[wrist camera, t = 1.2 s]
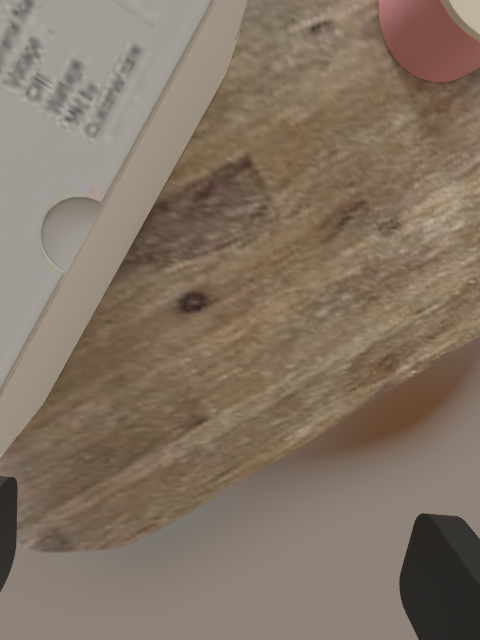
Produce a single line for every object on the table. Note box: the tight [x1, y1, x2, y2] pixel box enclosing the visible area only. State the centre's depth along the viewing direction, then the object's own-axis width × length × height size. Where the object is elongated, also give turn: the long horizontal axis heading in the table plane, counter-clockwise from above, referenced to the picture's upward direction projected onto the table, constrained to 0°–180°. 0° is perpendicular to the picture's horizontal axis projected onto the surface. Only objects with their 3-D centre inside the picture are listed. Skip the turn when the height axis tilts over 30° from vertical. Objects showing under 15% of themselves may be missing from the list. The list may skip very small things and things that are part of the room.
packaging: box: [0, 0, 250, 457], centre depth 24 cm, size 30×6×20 cm, turn 150°
